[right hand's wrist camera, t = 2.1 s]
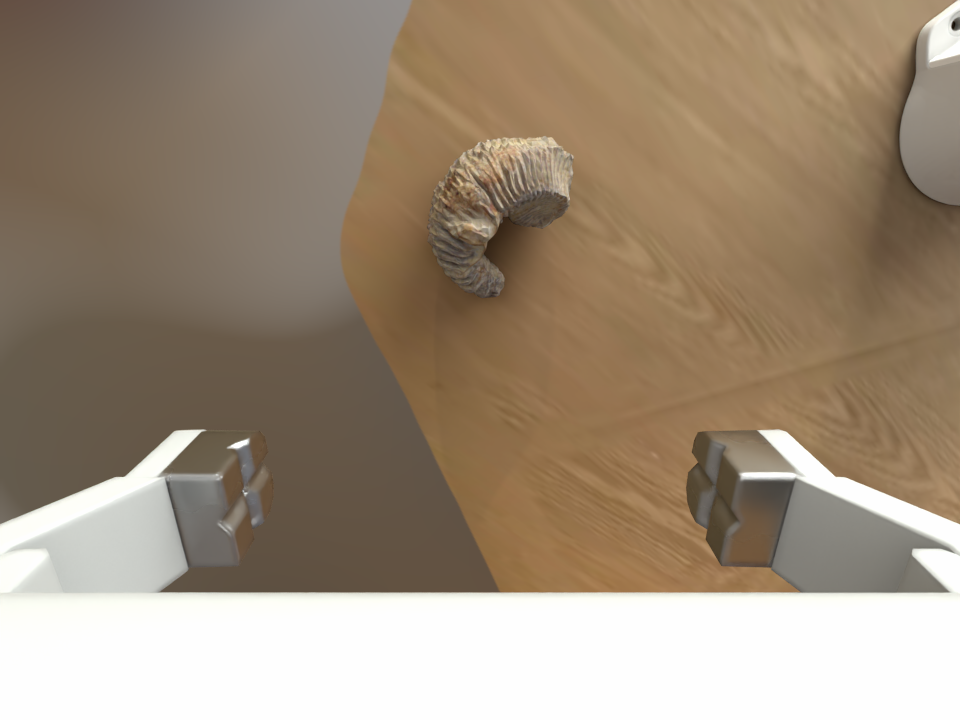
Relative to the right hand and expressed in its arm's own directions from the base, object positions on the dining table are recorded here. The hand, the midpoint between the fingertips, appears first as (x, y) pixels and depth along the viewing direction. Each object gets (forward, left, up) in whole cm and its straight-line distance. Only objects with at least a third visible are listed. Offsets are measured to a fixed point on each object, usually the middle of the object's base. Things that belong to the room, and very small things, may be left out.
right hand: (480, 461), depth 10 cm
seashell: (-1, +1, -39) cm, 39 cm away
